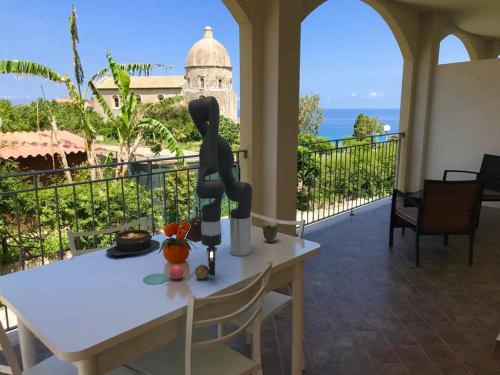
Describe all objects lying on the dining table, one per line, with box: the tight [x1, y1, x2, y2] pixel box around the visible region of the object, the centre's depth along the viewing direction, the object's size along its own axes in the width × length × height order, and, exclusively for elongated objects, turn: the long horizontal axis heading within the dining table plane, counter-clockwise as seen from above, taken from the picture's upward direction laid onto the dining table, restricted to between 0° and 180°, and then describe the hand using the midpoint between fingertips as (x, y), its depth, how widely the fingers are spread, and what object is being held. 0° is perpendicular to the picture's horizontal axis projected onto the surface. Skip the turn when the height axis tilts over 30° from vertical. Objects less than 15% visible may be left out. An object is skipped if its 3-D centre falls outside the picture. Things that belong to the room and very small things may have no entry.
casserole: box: [105, 229, 161, 257], centre depth 180 cm, size 25×19×8 cm
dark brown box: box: [183, 206, 202, 243], centre depth 200 cm, size 16×11×18 cm
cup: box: [262, 224, 278, 244], centre depth 192 cm, size 8×7×8 cm
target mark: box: [142, 273, 170, 286], centre depth 149 cm, size 10×10×1 cm
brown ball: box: [194, 264, 210, 280], centre depth 149 cm, size 6×6×6 cm
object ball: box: [169, 264, 185, 280], centre depth 149 cm, size 6×6×6 cm
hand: (212, 274), depth 149 cm, fingers closed
